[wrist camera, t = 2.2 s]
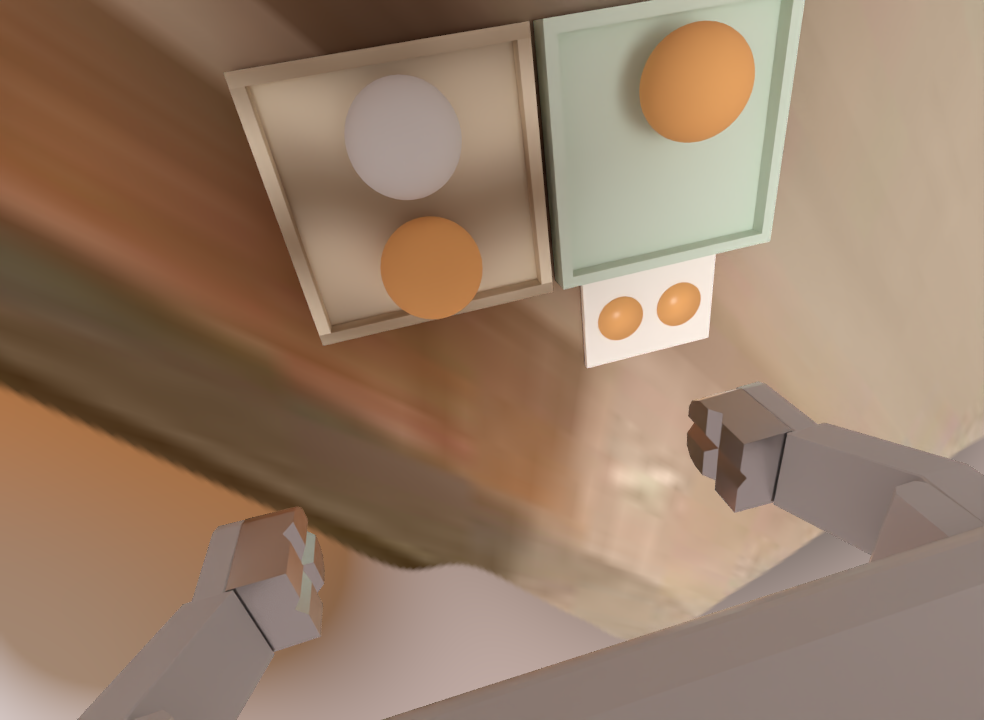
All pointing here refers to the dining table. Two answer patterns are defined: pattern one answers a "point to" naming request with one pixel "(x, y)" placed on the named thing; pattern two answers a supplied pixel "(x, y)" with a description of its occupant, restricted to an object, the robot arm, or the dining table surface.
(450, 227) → the orange ball
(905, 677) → the robot arm
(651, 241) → the tray sage
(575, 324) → the dining table surface
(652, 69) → the orange ball
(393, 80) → the grey ball
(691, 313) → the card
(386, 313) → the tray birch
